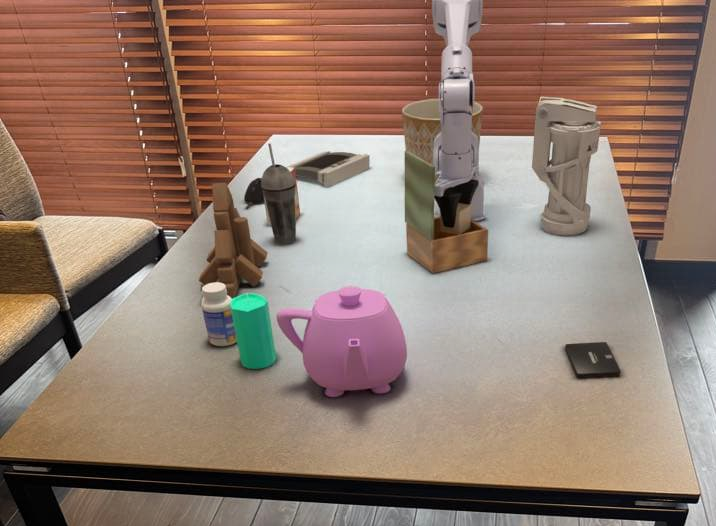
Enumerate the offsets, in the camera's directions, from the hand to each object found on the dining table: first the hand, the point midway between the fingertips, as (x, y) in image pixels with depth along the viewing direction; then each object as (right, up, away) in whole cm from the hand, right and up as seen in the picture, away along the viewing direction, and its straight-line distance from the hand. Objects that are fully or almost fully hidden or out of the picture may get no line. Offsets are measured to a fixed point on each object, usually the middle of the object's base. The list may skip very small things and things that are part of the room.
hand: (455, 222), depth 160 cm
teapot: (-19, -40, -33) cm, 55 cm away
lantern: (+24, +5, +14) cm, 28 cm away
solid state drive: (+20, -35, -30) cm, 50 cm away
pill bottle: (-42, -29, -20) cm, 55 cm away
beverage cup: (-36, +1, +14) cm, 39 cm away
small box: (-38, +10, +23) cm, 45 cm away
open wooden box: (-2, -6, +4) cm, 7 cm away
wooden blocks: (-44, -11, 0) cm, 46 cm away
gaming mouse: (-46, +20, +35) cm, 61 cm away
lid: (-7, +2, -7) cm, 10 cm away
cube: (0, -1, +1) cm, 1 cm away
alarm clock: (-31, +32, +48) cm, 65 cm away
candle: (-35, -34, -26) cm, 55 cm away
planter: (-1, +26, +40) cm, 48 cm away
